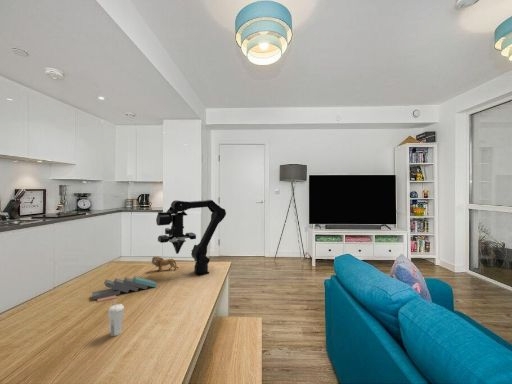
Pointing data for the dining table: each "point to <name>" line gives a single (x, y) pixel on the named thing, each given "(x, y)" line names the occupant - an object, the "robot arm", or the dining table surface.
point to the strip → (106, 298)
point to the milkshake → (115, 319)
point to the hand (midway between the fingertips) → (177, 253)
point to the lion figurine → (163, 263)
